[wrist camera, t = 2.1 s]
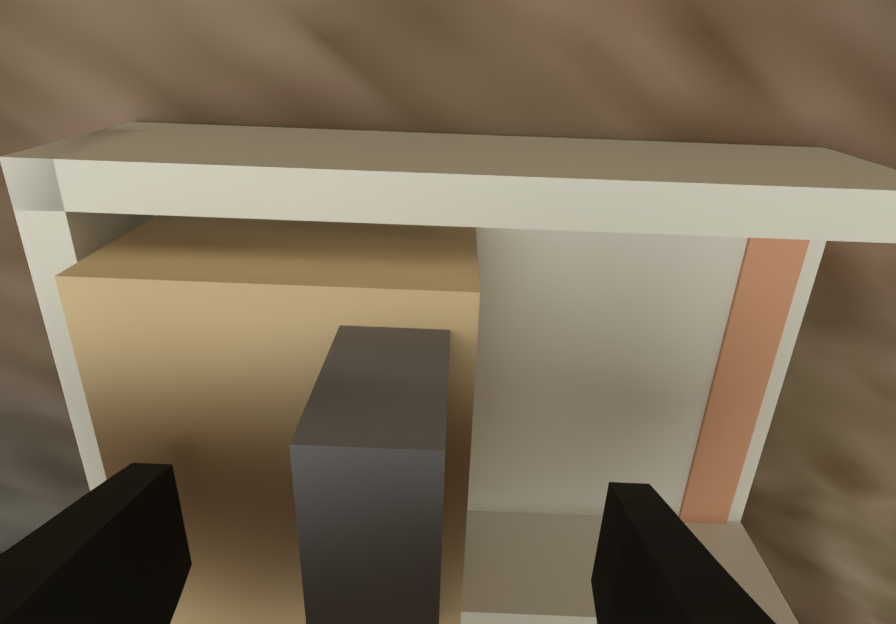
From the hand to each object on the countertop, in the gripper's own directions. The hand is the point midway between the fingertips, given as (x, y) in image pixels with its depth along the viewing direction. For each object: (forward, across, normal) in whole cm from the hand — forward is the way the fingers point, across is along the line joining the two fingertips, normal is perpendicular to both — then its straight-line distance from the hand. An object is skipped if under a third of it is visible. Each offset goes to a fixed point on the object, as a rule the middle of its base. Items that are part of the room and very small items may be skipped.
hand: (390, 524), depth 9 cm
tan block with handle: (+5, +2, 0) cm, 5 cm away
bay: (+6, -1, 0) cm, 6 cm away
